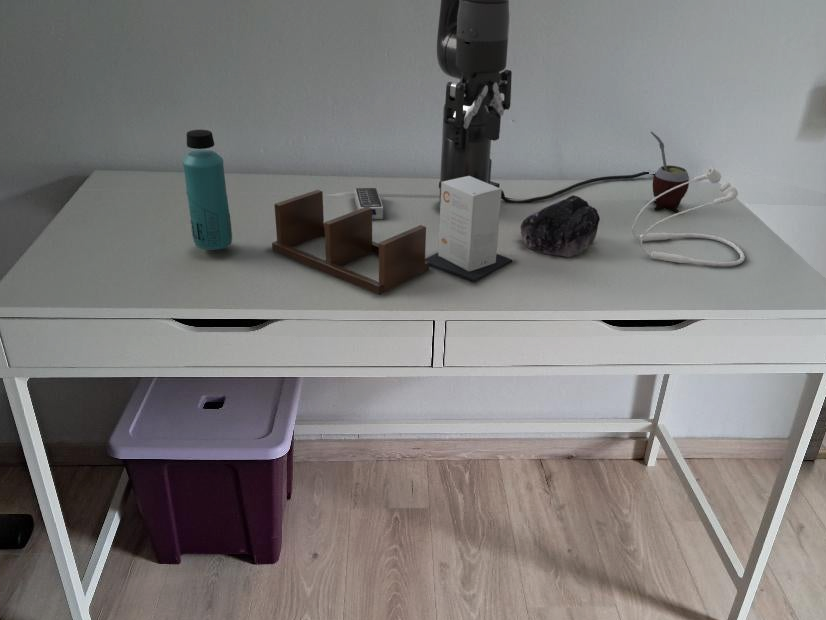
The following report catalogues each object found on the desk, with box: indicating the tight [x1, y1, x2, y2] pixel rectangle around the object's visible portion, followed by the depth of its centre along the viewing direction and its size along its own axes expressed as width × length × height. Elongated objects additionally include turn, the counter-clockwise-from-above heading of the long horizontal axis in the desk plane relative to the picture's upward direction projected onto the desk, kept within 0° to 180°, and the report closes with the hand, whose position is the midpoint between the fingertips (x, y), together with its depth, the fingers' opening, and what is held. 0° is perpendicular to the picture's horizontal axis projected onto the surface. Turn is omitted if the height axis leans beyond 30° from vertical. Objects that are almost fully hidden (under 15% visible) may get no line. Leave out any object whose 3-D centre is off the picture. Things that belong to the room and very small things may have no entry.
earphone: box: [631, 167, 746, 267], centre depth 142 cm, size 14×17×18 cm
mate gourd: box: [650, 130, 690, 214], centre depth 158 cm, size 8×8×15 cm
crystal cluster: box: [520, 194, 601, 258], centre depth 141 cm, size 13×14×10 cm
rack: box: [271, 189, 430, 296], centre depth 131 cm, size 12×24×8 cm, turn 52°
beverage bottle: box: [181, 129, 233, 251], centre depth 128 cm, size 6×7×20 cm
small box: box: [437, 176, 502, 271], centre depth 131 cm, size 8×6×13 cm
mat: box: [425, 252, 513, 284], centre depth 135 cm, size 11×11×1 cm
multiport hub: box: [354, 187, 384, 220], centre depth 153 cm, size 4×11×2 cm, turn 11°
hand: (476, 145), depth 124 cm, fingers open, 8 cm apart
